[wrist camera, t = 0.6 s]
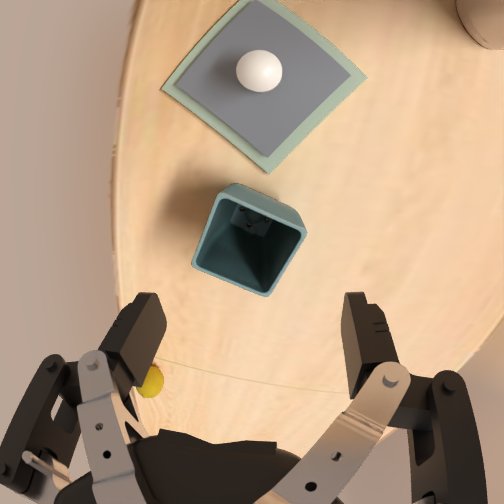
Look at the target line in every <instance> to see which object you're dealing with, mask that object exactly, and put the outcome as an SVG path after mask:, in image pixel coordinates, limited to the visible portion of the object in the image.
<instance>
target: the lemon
mask: <svg viewBox="0 0 504 504" xmlns="http://www.w3.org/2000/svg"><path fill="white" fill-rule="evenodd" d="M163 384H164V377H163V374H162V372H161V371H160V370H159V369H158V368H157V367H156V366H150V369H149V371H148V373H147V376H146V378H145V381H144V383H143V386H142V388H141V387H136V389H137V391H138V393H139V394H140V395H142V397H143V398H153V397H155V396H157V395H158V394H159V393H160V391H161V389H162V387H163Z"/></svg>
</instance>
